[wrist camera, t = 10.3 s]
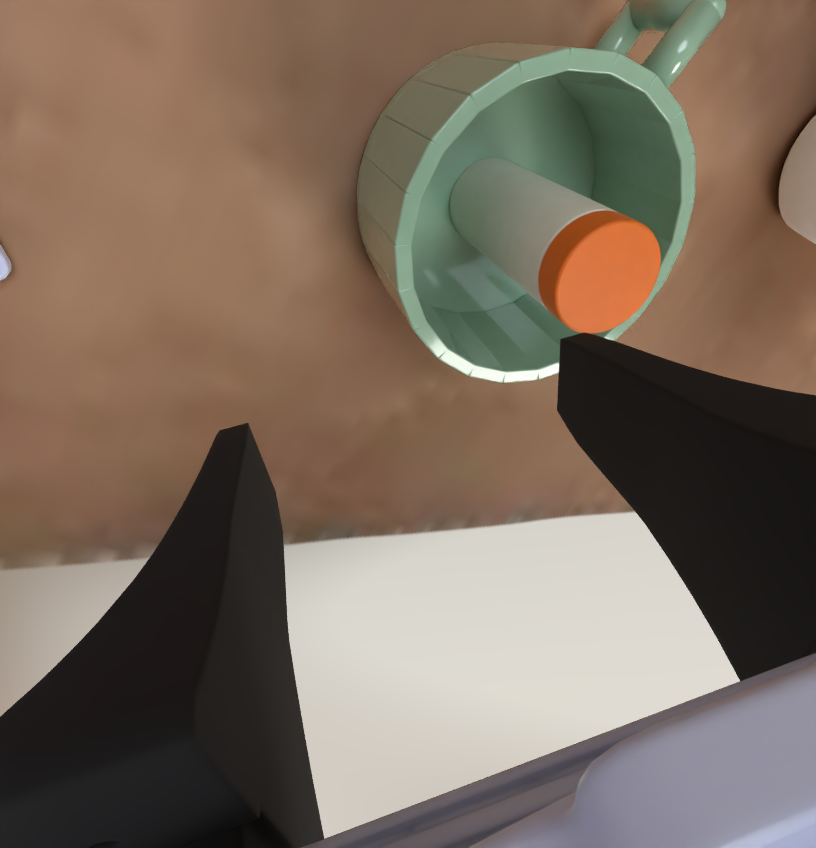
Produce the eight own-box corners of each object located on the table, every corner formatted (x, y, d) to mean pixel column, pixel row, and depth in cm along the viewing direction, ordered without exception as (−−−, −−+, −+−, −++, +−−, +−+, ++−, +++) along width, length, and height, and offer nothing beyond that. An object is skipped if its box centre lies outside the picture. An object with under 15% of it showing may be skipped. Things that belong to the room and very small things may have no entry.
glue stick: (452, 250, 21) (552, 346, 15) (445, 166, 19) (557, 235, 13) (524, 233, 21) (652, 319, 15) (525, 149, 19) (671, 208, 13)
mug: (488, 353, 25) (546, 421, 20) (303, 237, 20) (328, 296, 15) (694, 98, 21) (820, 117, 16) (529, -135, 15) (649, -195, 11)
